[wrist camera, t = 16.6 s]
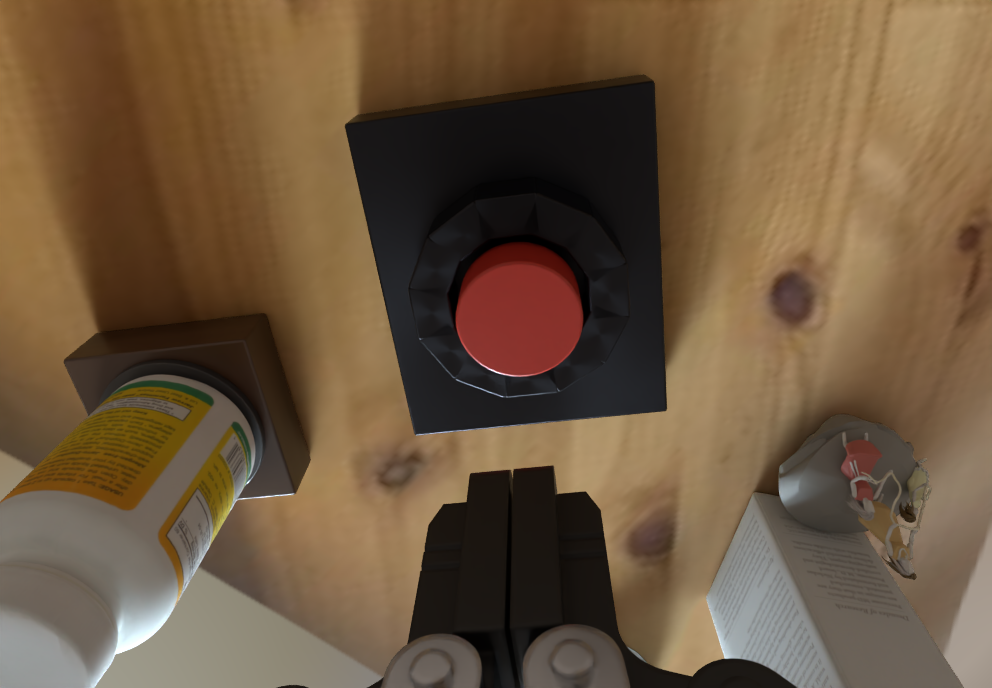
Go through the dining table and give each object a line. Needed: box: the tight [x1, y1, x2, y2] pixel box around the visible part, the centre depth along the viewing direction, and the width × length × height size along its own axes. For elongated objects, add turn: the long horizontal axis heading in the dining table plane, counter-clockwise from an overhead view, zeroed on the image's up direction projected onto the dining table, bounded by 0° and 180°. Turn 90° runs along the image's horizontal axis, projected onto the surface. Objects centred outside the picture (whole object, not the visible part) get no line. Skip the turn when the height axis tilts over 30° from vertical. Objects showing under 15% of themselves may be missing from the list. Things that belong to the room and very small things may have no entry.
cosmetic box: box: [706, 492, 964, 688], centre depth 24 cm, size 6×4×12 cm
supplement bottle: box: [0, 374, 255, 688], centre depth 21 cm, size 5×5×10 cm
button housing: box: [345, 74, 667, 435], centre depth 23 cm, size 11×9×4 cm
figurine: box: [779, 414, 931, 580], centre depth 25 cm, size 5×4×6 cm
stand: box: [64, 314, 311, 500], centre depth 26 cm, size 6×6×2 cm
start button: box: [456, 242, 583, 377], centre depth 21 cm, size 4×4×2 cm
